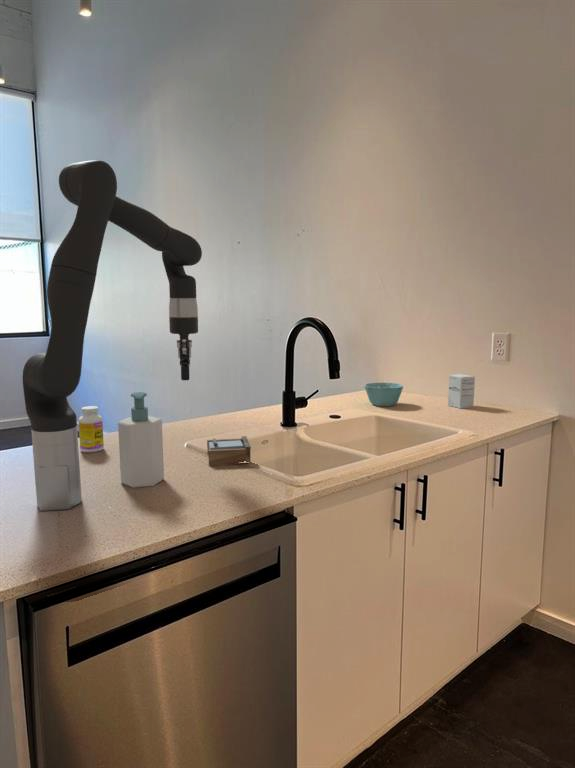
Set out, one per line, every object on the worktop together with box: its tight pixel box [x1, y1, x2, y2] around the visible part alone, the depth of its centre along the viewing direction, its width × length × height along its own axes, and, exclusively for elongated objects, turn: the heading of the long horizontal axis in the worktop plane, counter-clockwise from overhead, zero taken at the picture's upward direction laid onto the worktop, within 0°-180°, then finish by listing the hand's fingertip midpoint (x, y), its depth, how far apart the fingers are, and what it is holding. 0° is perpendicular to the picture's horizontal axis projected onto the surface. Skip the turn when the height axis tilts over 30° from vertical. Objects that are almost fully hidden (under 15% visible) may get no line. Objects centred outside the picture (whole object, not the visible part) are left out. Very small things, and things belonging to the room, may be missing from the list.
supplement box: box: [447, 373, 476, 409], centre depth 231 cm, size 7×7×13 cm
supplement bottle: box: [78, 405, 105, 454], centre depth 169 cm, size 7×7×13 cm
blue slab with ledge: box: [209, 438, 243, 450], centre depth 161 cm, size 6×9×6 cm, turn 102°
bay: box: [206, 435, 252, 467], centre depth 161 cm, size 12×11×5 cm
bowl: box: [363, 381, 404, 407], centre depth 236 cm, size 16×16×8 cm
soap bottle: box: [117, 391, 165, 489], centre depth 140 cm, size 10×9×22 cm
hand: (185, 379), depth 156 cm, fingers closed
